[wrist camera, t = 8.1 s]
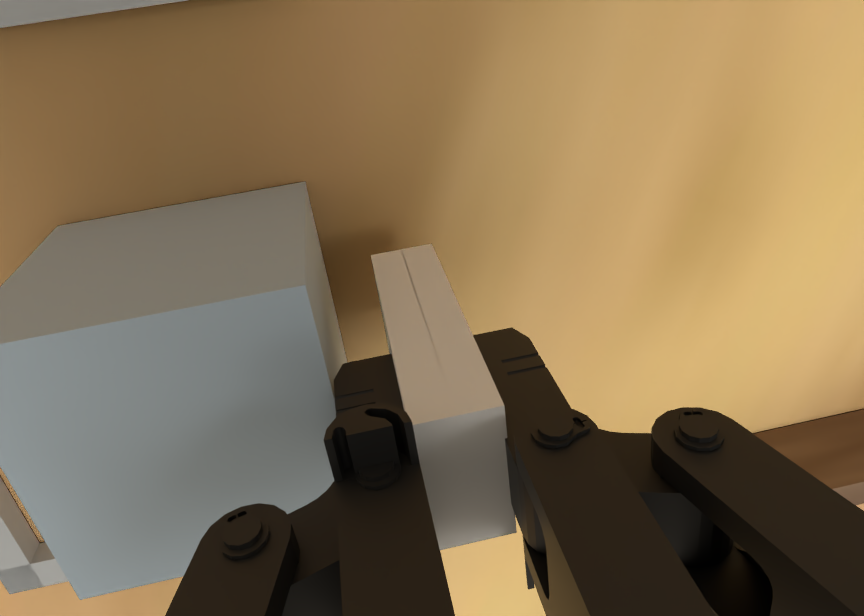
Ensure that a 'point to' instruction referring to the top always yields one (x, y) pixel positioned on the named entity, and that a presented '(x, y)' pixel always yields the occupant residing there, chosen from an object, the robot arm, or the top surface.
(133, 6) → the corral
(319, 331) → the cube
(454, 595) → the top surface
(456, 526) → the robot arm
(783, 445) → the brown flat u-shaped frame
